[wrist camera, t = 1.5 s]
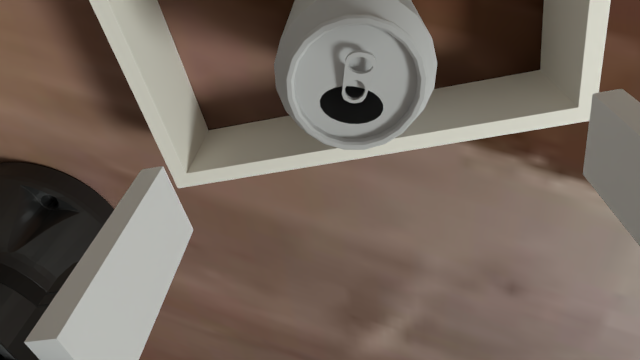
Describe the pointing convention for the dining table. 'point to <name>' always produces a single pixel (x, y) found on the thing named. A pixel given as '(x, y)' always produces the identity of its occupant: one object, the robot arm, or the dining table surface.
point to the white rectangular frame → (305, 151)
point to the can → (355, 70)
